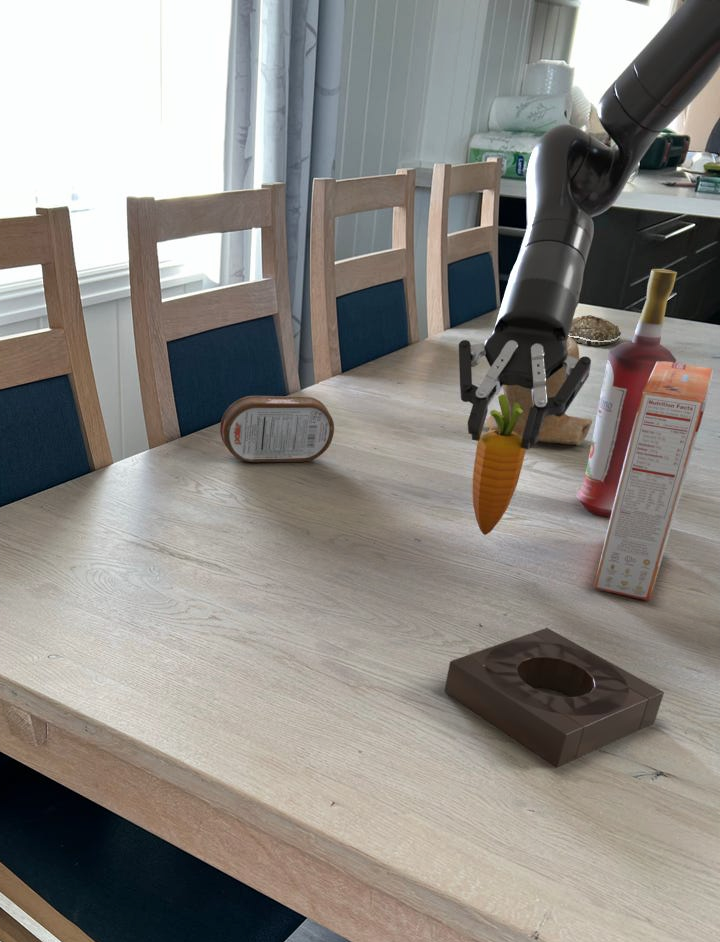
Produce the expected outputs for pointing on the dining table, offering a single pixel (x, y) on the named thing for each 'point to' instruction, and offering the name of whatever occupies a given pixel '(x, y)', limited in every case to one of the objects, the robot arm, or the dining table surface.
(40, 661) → the dining table surface
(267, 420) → the tin
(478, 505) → the carrot
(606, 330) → the brown shell
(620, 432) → the liquor
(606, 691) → the socket pad
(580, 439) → the stone cup
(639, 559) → the cracker box
